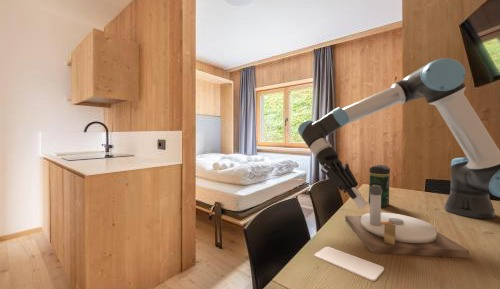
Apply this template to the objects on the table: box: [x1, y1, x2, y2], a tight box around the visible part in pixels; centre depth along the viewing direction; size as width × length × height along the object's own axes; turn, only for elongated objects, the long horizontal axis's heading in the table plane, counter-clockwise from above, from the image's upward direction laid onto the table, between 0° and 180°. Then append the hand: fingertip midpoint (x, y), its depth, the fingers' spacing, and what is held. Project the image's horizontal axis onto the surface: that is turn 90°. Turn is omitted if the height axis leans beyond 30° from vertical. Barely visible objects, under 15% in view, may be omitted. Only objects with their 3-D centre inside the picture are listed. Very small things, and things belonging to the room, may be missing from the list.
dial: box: [360, 185, 438, 243], centre depth 72 cm, size 20×20×14 cm
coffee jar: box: [368, 164, 391, 208], centre depth 107 cm, size 10×8×19 cm
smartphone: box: [314, 246, 385, 282], centre depth 57 cm, size 7×1×15 cm
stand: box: [344, 215, 470, 259], centre depth 72 cm, size 24×24×7 cm
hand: (363, 206), depth 74 cm, fingers closed
